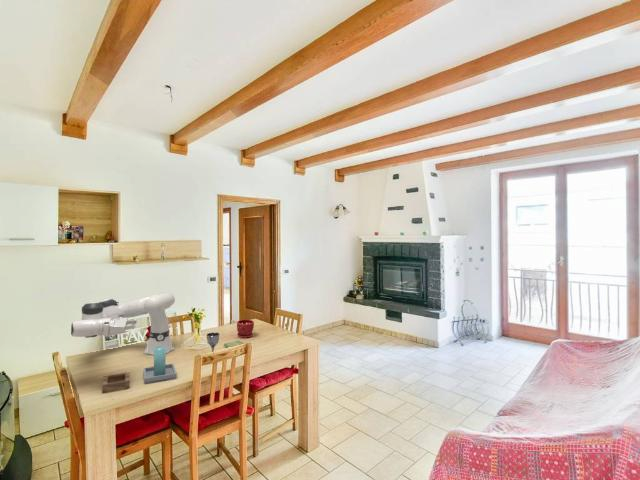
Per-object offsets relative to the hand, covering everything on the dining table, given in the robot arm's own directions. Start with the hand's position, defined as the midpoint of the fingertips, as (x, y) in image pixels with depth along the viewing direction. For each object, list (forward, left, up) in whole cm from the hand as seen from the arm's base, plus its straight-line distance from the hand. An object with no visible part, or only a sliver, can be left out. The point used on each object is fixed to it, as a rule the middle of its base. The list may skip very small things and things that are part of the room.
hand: (136, 324), depth 190 cm
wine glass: (-13, +45, -30) cm, 56 cm away
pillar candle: (+4, +12, -29) cm, 32 cm away
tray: (+4, +12, -30) cm, 33 cm away
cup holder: (+8, -9, -30) cm, 32 cm away
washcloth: (-24, +64, -31) cm, 75 cm away
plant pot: (-46, +77, -30) cm, 95 cm away
